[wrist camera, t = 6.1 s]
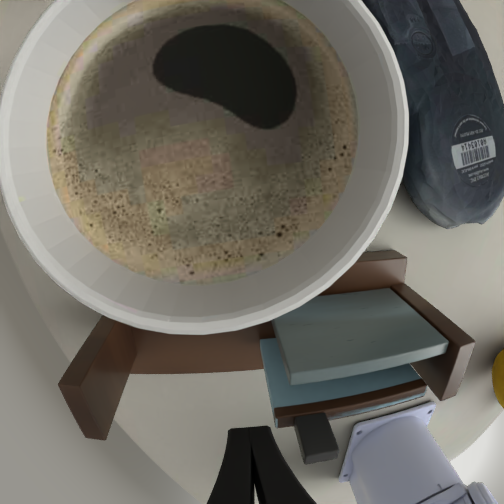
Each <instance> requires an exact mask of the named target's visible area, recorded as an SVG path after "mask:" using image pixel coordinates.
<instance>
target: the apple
mask: <svg viewBox="0 0 504 504" xmlns="http://www.w3.org/2000/svg"><path fill="white" fill-rule="evenodd" d="M492 381H493V388H494V392H495V395H496V397H497V399H498V401H499V403H500V405H501V406H502V407H503V408H504V349H503V350H502V351H501V352H500V353H499V354H498V355H497V356H496V358H495V361H494V364H493V367H492Z"/></svg>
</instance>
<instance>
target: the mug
mask: <svg viewBox="0 0 504 504" xmlns="http://www.w3.org/2000/svg"><path fill="white" fill-rule="evenodd" d="M408 140H409V110H408V103H407V96H406V90H405V84H404V80H403V76H402V73H401V70H400V67H399V64H398V61H397V58H396V56H395V53H394V50H393V48H392V46H391V44H390V43H389V41H388V39H387V37H386V35H385V33H384V31H383V30H382V28H381V26H380V24H379V23H378V21H377V20H376V19H375V17H374V16H373V15H372V13H371V12H370V11H369V9H368V8H367V7H366V6H365V4H364V3H363V2H362V1H361V0H54V1H53V2H52V3H51V4H50V5H49V7H48V8H47V9H46V10H45V11H44V12H43V14H42V15H41V16H40V17H39V19H38V20H37V21H36V23H35V24H34V25H33V27H32V28H31V30H30V31H29V32H28V34H27V35H26V37H25V39H24V41H23V42H22V44H21V46H20V48H19V50H18V52H17V54H16V55H15V57H14V59H13V61H12V64H11V66H10V69H9V72H8V74H7V77H6V80H5V83H4V86H3V89H2V92H1V97H0V189H1V193H2V197H3V200H4V203H5V207H6V210H7V212H8V215H9V217H10V219H11V221H12V223H13V225H14V228H15V230H16V232H17V234H18V236H19V238H20V239H21V241H22V242H23V244H24V245H25V247H26V248H27V250H28V251H29V253H30V254H31V256H32V257H33V259H34V260H35V261H36V263H37V264H38V265H39V266H40V267H41V268H42V269H43V270H44V271H45V272H46V273H47V275H48V276H49V277H50V278H51V279H52V280H53V281H54V282H55V283H56V284H57V285H58V286H60V287H61V288H62V289H64V290H65V291H66V292H67V293H69V294H70V295H71V296H73V297H74V298H75V299H77V300H78V301H79V302H81V303H82V304H84V305H86V306H88V307H89V308H91V309H93V310H95V311H97V312H99V313H101V314H103V315H104V316H106V317H108V318H111V319H113V320H116V321H119V322H122V323H125V324H128V325H131V326H134V327H137V328H140V329H145V330H151V331H156V332H162V333H168V334H188V335H206V334H214V333H221V332H229V331H236V330H240V329H243V328H247V327H250V326H254V325H257V324H261V323H264V322H267V321H270V320H272V319H274V318H277V317H279V316H281V315H283V314H285V313H287V312H290V311H292V310H294V309H296V308H298V307H300V306H302V305H303V304H305V303H306V302H308V301H309V300H311V299H312V298H314V297H315V296H317V295H318V294H320V293H321V292H323V291H324V290H326V289H327V288H328V287H330V286H331V285H332V284H333V283H334V282H335V281H336V280H337V279H338V278H339V277H341V276H342V275H343V274H344V273H345V272H346V271H347V270H348V269H349V268H350V267H351V266H352V265H353V264H354V263H355V262H356V261H357V260H358V258H359V257H360V256H361V255H362V253H363V252H364V251H365V250H366V248H367V247H368V246H369V244H370V243H371V242H372V241H373V239H374V238H375V236H376V235H377V233H378V231H379V229H380V228H381V226H382V224H383V222H384V220H385V219H386V217H387V215H388V213H389V211H390V210H391V207H392V205H393V202H394V199H395V197H396V194H397V191H398V188H399V186H400V183H401V180H402V177H403V172H404V167H405V161H406V156H407V150H408Z"/></svg>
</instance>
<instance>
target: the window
mask: <svg viewBox="0 0 504 504" xmlns="http://www.w3.org/2000/svg"><path fill="white" fill-rule="evenodd" d="M406 263H407V257H405V256H404V255H402V254H400V253H399V252H397V251H395V250H389V251H376V252H363V253H362V255H361V256H360V257H359V258H358V260H357V261H356V262H355V263H354V264H353V265H352V266H351V267H350V268H349V269H348V270H347V271H346V272H345V273H344V274H343V275H342V276H341V277H339V278H338V279H337V280H336V281H335V282H334V283H333V284H332V285H331V286H330V287H328V288H327V289H326V290H324V291H323V292H321V293H320V294H318V295H317V296H315V297H314V298H312V299H311V300H309V301H308V302H306V303H305V304H303V305H302V306H300V307H298V308H296V309H294V310H292V311H290V312H287V313H285V314H283V315H281V316H279V317H277V318H274V319H272V320H270V321H267V322H264V323H261V324H257V325H254V326H250V327H247V328H243V329H240V330H236V331H229V332H221V333H214V334H206V335H188V334H168V333H162V332H156V331H151V330H145V329H140V328H137V327H134V326H131V325H128V324H125V323H122V322H119V321H116V320H113V319H111V318H108V317H106V316H104V315H103V316H102V317H101V319H100V320H99V322H98V323H97V324H96V326H95V327H94V329H93V330H92V332H91V333H90V335H89V336H88V338H87V339H86V341H85V342H84V344H83V345H82V347H81V348H80V350H79V351H78V353H77V355H76V356H75V358H74V359H73V361H72V362H71V364H70V366H69V367H68V369H67V370H66V372H65V373H64V375H63V377H62V378H61V380H60V382H59V383H58V386H59V388H60V390H61V392H62V394H63V396H64V399H65V401H66V403H67V405H68V407H69V408H70V410H71V412H72V414H73V416H74V418H75V420H76V422H77V423H78V425H79V427H80V429H81V431H82V432H83V434H84V436H85V437H86V438H91V439H99V440H106V439H107V436H108V432H109V429H110V427H111V424H112V421H113V418H114V415H115V412H116V410H117V407H118V404H119V401H120V398H121V396H122V393H123V390H124V387H125V385H126V382H127V379H128V377H129V374H188V373H213V372H231V371H245V370H257V369H264V366H263V360H262V355H261V350H260V339H270V338H276V340H277V343H278V347H279V350H280V354H281V357H282V361H283V364H284V368H285V371H286V375H287V378H288V382H289V384H290V385H299V384H306V383H313V382H320V381H326V380H332V379H338V378H344V377H349V376H354V375H360V374H365V373H369V372H374V371H379V370H383V369H388V368H392V367H396V366H400V365H404V364H408V363H410V364H411V365H412V366H413V368H414V369H415V370H416V371H417V373H418V374H419V375H420V376H421V378H422V379H423V380H424V381H425V383H426V384H427V385H428V386H429V388H430V389H431V390H432V391H433V393H434V394H435V395H436V396H437V398H438V399H439V400H440V401H442V400H445V399H448V398H450V397H453V396H455V395H456V394H457V392H458V389H459V387H460V384H461V382H462V379H463V377H464V374H465V371H466V369H467V366H468V363H469V360H470V357H471V355H472V352H473V349H474V346H475V340H474V339H472V338H471V337H470V336H469V335H468V334H466V333H465V332H464V331H463V330H462V329H461V328H459V327H458V326H457V325H456V324H455V323H453V322H452V321H451V320H450V319H449V318H447V317H446V316H445V315H444V314H442V313H441V312H440V311H439V310H438V309H436V308H435V307H434V306H433V305H431V304H430V303H429V302H428V301H426V300H425V299H424V298H423V297H421V296H420V295H419V294H417V293H416V292H415V291H414V290H412V289H411V288H410V287H409V286H407V285H406V284H404V280H405V272H406Z"/></svg>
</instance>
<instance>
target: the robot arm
mask: <svg viewBox="0 0 504 504" xmlns="http://www.w3.org/2000/svg"><path fill="white" fill-rule="evenodd" d="M435 407H436V403H435V402H434V401H432V402H429V403H426V404H423V405H420V406H417V407H414V408H410V409H407V410H404V411H401V412H397V413H394V414H390V415H387V416H383V417H379V418H376V419H372V420H368V421H363V422H359V423H357V424H356V425H355V426H354V427H353V431H352V435H351V439H350V442H349V446H348V449H347V453H346V456H345V460H344V463H343V466H342V469H341V472H340V476H339V482H346V481H349V482H350V485H351V488H352V490H353V493H354V496H355V498H356V501H357V504H498V503H497V501H496V500H495V498H494V497H493V495H492V494H491V493H490V491H489V490H488V488H487V487H486V486H485V485H484V483H482V482H480V483H479V482H478V483H476V482H472V483H471V484H470V485H468V486H466V485H465V484H463V482H462V481H461V479H460V478H459V476H458V474H457V473H456V471H455V470H454V468H453V467H452V465H451V463H450V462H449V460H448V459H447V457H446V456H445V454H444V453H443V451H442V449H441V448H440V446H439V445H438V443H437V442H436V440H435V439H434V437H433V436H432V434H431V433H430V431H429V430H428V428H427V425H428V423H429V421H430V419H431V416H432V414H433V412H434V409H435ZM254 484H255V488H256V493H257V497H258V501H259V504H316V502H315V501H314V500H313V499H312V498H311V496H310V495H309V494H308V493H307V491H306V490H305V489H304V488H303V486H302V485H301V484H300V482H299V481H298V479H297V478H296V477H295V475H294V473H293V472H292V470H291V469H290V467H289V466H288V464H287V462H286V461H285V459H284V457H283V455H282V454H281V452H280V450H279V448H278V446H277V444H276V442H275V439H274V437H273V434H272V432H271V428H270V427H269V426H258V427H246V428H231V429H230V430H228V438H227V445H226V450H225V454H224V458H223V462H222V465H221V468H220V471H219V474H218V477H217V480H216V483H215V485H214V488H213V490H212V493H211V495H210V497H209V500H208V502H207V504H254Z"/></svg>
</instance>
